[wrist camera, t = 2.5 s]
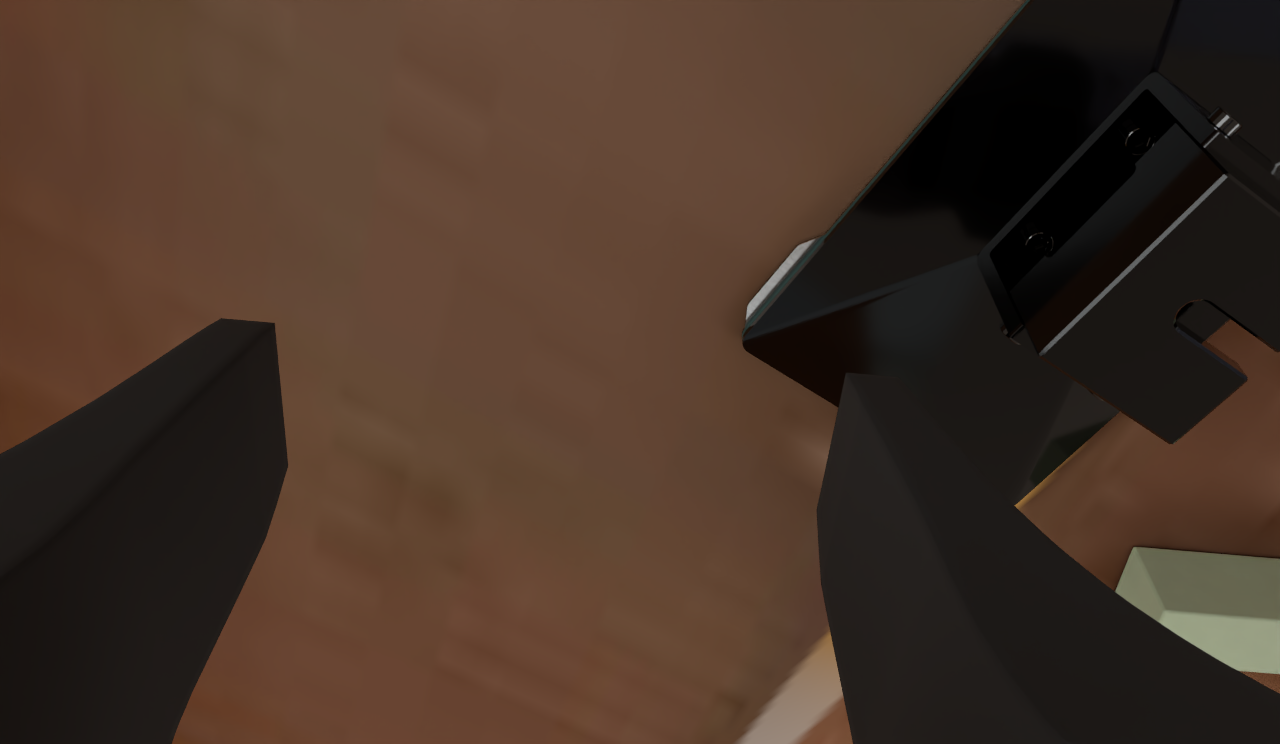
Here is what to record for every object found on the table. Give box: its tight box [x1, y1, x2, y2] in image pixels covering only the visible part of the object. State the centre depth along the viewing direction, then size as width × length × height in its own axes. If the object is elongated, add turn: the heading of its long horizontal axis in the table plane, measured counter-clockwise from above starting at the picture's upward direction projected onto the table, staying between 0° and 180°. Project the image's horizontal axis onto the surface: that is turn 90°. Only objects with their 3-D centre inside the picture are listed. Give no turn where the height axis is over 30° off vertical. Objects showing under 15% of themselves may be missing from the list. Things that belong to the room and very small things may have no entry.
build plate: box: [742, 0, 1280, 505], centre depth 19 cm, size 12×7×5 cm, turn 146°
